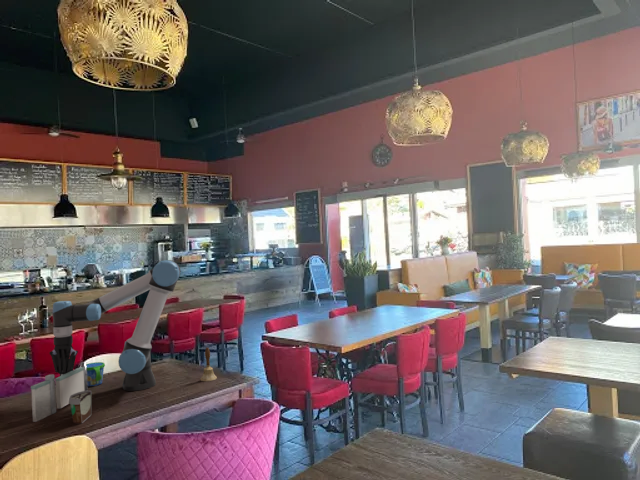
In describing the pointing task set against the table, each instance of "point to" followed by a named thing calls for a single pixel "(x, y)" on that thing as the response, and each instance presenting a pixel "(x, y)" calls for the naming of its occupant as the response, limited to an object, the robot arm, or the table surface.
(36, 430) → the table surface
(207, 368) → the hand bell
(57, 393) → the gate
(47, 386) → the fence
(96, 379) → the snack cup
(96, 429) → the table surface
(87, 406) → the food container
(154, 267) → the robot arm
